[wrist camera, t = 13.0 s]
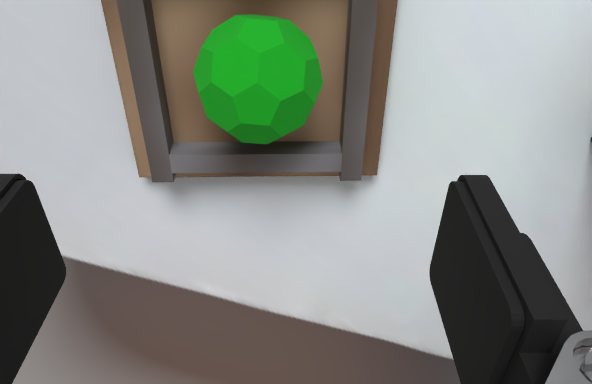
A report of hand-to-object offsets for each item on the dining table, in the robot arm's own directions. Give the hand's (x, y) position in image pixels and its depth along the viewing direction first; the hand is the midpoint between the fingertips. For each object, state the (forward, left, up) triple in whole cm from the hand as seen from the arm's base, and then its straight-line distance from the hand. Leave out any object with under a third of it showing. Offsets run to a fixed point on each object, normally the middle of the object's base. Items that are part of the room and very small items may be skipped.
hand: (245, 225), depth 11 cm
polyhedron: (0, 0, -12) cm, 12 cm away
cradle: (0, +1, -13) cm, 13 cm away
